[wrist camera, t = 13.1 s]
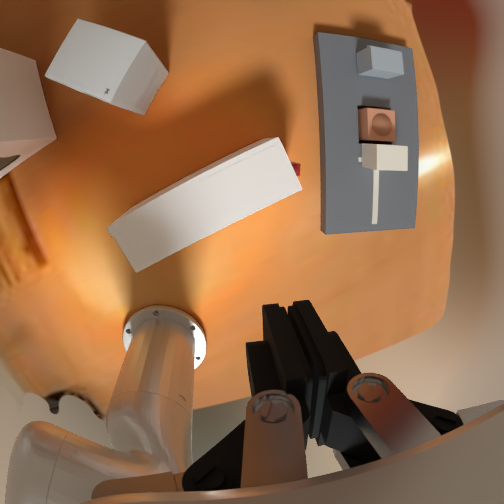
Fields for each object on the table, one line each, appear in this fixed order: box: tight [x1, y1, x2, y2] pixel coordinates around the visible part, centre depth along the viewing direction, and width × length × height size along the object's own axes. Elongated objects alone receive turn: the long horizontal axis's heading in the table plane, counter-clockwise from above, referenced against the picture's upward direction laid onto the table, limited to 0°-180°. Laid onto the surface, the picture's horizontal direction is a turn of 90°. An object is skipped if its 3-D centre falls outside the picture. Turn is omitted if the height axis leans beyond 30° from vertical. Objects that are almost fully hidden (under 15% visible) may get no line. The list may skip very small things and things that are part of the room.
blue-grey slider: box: [356, 46, 404, 79], centre depth 30 cm, size 3×4×4 cm
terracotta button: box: [358, 108, 396, 142], centre depth 35 cm, size 4×4×3 cm
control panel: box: [313, 32, 419, 235], centre depth 36 cm, size 26×14×2 cm, turn 3°
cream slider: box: [362, 143, 408, 171], centre depth 34 cm, size 3×4×4 cm
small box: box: [45, 18, 169, 116], centre depth 26 cm, size 8×6×13 cm
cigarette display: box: [107, 137, 302, 273], centre depth 33 cm, size 20×6×9 cm, turn 116°
